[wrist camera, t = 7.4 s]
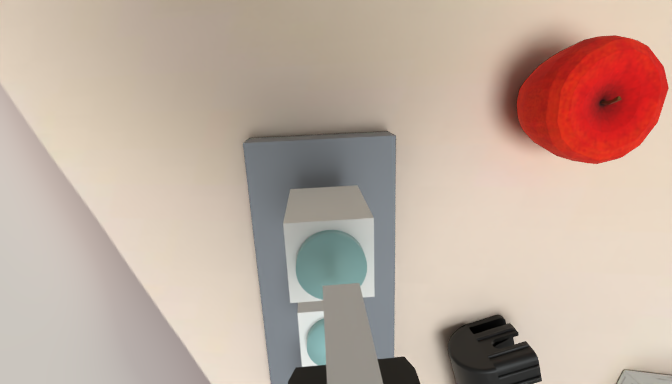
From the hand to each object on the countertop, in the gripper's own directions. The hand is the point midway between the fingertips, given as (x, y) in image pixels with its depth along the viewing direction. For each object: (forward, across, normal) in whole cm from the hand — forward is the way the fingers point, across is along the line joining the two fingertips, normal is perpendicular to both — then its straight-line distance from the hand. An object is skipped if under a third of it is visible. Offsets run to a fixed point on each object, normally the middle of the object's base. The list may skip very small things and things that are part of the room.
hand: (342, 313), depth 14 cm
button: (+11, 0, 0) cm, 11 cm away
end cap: (+18, +15, -20) cm, 31 cm away
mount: (+18, 0, -8) cm, 20 cm away
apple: (+19, +20, +7) cm, 28 cm away
